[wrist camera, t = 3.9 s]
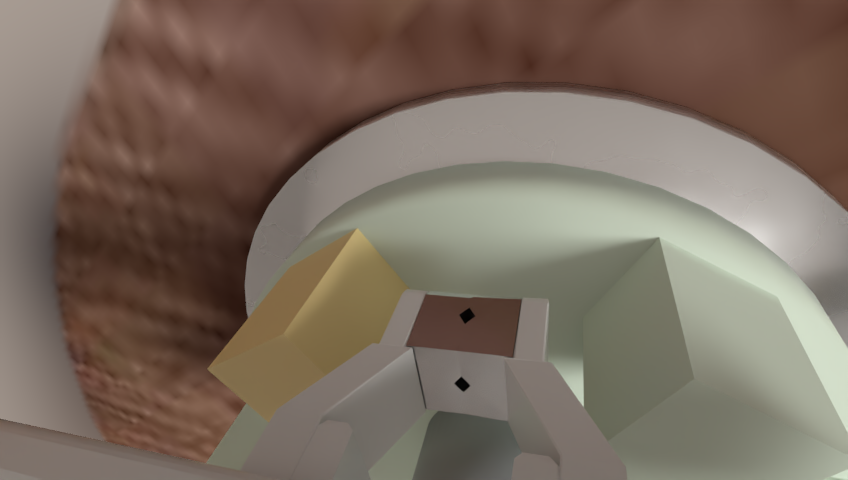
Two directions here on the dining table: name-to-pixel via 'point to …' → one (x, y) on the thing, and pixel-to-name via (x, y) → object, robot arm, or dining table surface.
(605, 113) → the mount plate
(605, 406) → the green toy gear
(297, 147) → the dining table surface
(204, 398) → the dining table surface
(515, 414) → the robot arm
